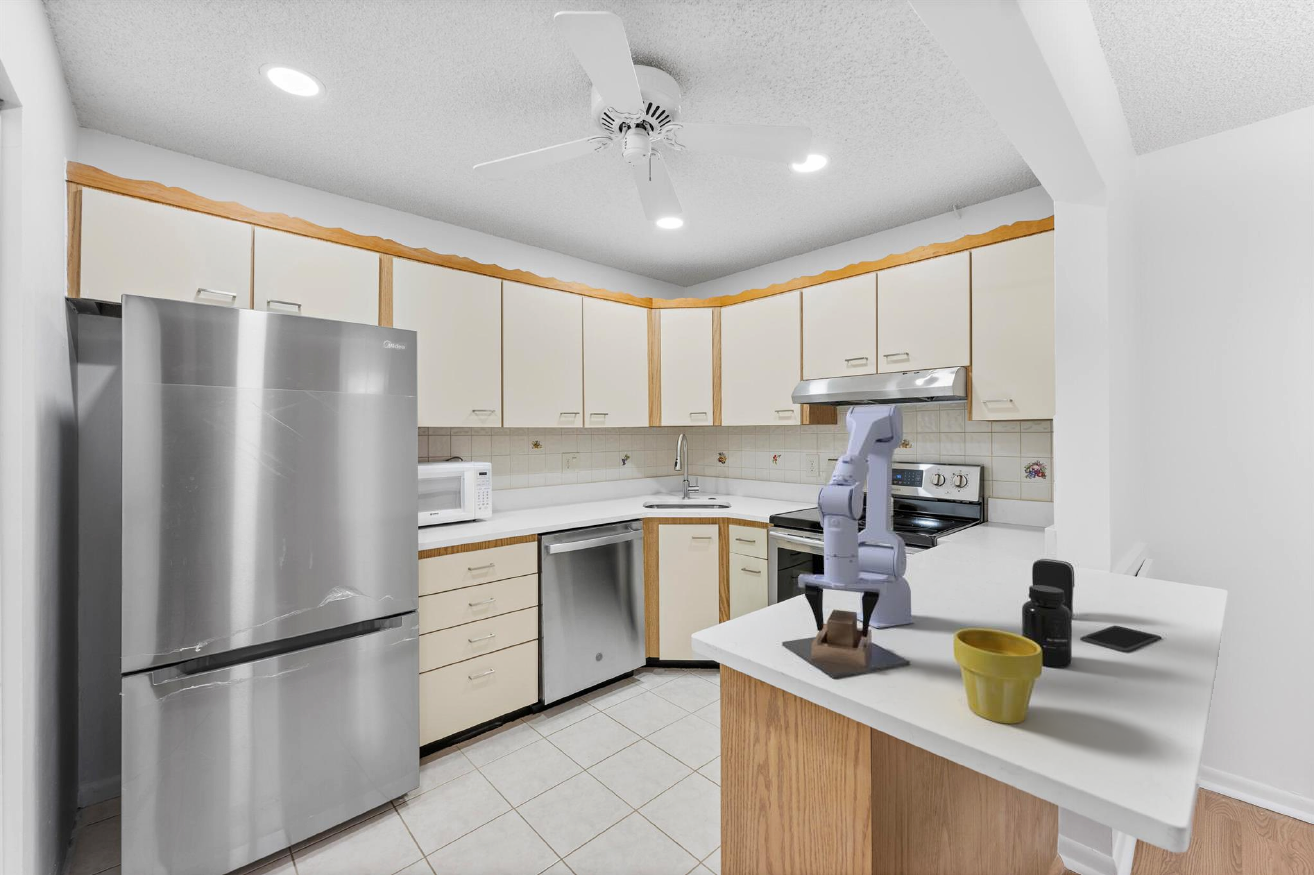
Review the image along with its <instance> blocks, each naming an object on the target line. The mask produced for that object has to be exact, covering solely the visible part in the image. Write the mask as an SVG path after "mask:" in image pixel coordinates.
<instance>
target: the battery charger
mask: <svg viewBox="0 0 1314 875" xmlns="http://www.w3.org/2000/svg"><path fill="white" fill-rule="evenodd" d="M1031 571H1032V574H1031V579H1032V581H1031V583H1032V585H1042V586H1050V587H1055V588H1059V589H1061V590H1063V591H1064V599H1065V602H1064V603H1063V605H1064V606H1065V607H1067V608H1068V609H1069V610H1070V612H1071V615H1072V619H1074V605H1073V604H1074V589H1075V569H1074V566H1073V565H1072V564H1071V563H1070V562H1069V561H1063V560H1058V559H1049V558H1039V559H1036V560H1034V562H1033V564H1032V570H1031Z"/></svg>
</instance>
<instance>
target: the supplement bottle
mask: <svg viewBox="0 0 1314 875" xmlns="http://www.w3.org/2000/svg"><path fill="white" fill-rule="evenodd" d="M1028 598H1029V599H1030V600H1027V601H1025V602H1024V603H1023V604H1022V607H1021V636H1023V637H1025V638H1028V639H1030V640H1032V641H1034V642H1035V643H1037V644H1038V645H1039V646H1040V647H1041V649H1042V666H1045V667H1050V668H1066V667H1069V666H1070V665H1071V664H1072V659H1073V658H1072V656H1073V645H1072V644H1073V643H1072V642H1073V641H1072V640H1073V637H1072V636H1073V632H1072V631H1073V629H1072V627H1073V626H1072V625H1073V624H1072V622H1073V618H1072V615H1071V612H1070V610H1069V609H1068V608H1067V607H1065V606H1064V605H1063V603H1064V602H1065V599H1064V591H1063V590H1061V589H1059V588H1055V587H1050V586H1042V585H1033V584H1032V585H1029V586H1028Z"/></svg>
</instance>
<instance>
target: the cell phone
mask: <svg viewBox="0 0 1314 875" xmlns="http://www.w3.org/2000/svg"><path fill="white" fill-rule="evenodd" d="M1161 640H1162V636H1160V635H1157V634H1154V633H1149V632H1144V631H1141V630H1137V629H1134V628H1133V629H1132V628H1128V627H1124V626H1121V625H1112V626H1109V627H1105V628H1103V629H1100V630H1097V631H1094V632H1093V633H1089V634H1086V635H1084V636H1081V637H1080V638H1079V641H1081V642H1084V643H1087V644H1091V645H1094V646H1099V647H1102V648H1106V649H1109V650H1113V651H1116V652H1120V653H1125V654H1128V653H1132V652H1135V651H1136V650H1139V649H1141V648H1144V647H1146V646H1149V645H1151V644H1154V643H1156V642H1158V641H1161Z"/></svg>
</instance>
